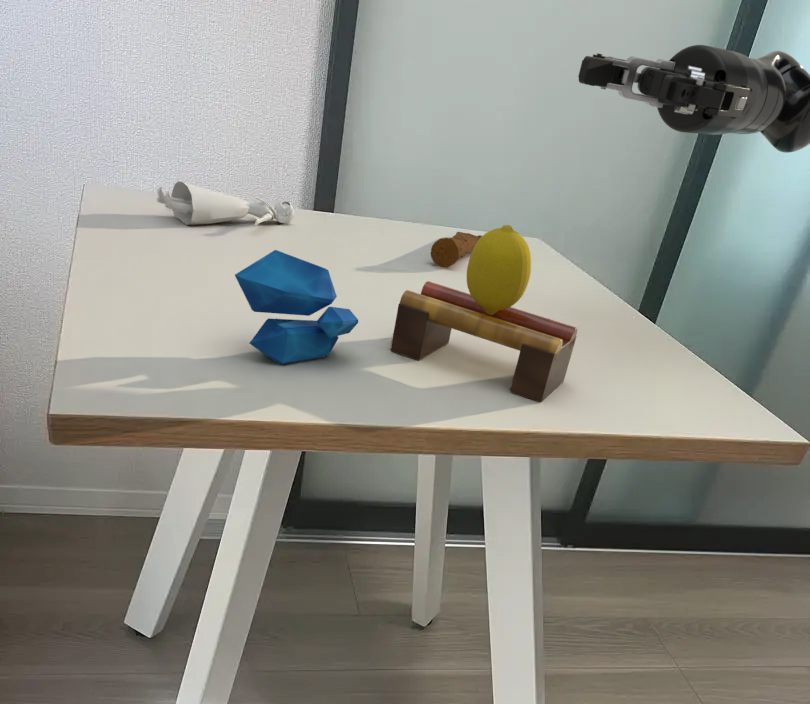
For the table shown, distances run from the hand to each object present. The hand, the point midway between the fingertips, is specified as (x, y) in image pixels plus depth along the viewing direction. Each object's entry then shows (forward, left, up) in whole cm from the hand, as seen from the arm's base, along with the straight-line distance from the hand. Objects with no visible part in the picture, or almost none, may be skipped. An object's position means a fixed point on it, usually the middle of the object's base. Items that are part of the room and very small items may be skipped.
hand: (623, 79), depth 78 cm
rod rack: (+4, +10, -25) cm, 27 cm away
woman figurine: (+46, -10, -25) cm, 53 cm away
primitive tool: (+22, -28, -25) cm, 43 cm away
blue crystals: (+17, +22, -25) cm, 38 cm away
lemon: (+4, +10, -20) cm, 23 cm away
